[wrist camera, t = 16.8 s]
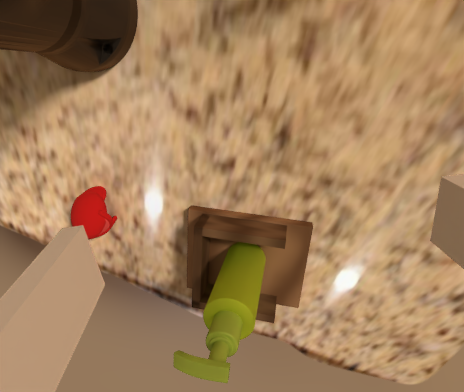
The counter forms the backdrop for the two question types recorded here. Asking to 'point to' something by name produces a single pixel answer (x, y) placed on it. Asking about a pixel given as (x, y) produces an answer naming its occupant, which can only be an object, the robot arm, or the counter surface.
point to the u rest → (254, 232)
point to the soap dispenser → (228, 312)
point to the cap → (92, 212)
